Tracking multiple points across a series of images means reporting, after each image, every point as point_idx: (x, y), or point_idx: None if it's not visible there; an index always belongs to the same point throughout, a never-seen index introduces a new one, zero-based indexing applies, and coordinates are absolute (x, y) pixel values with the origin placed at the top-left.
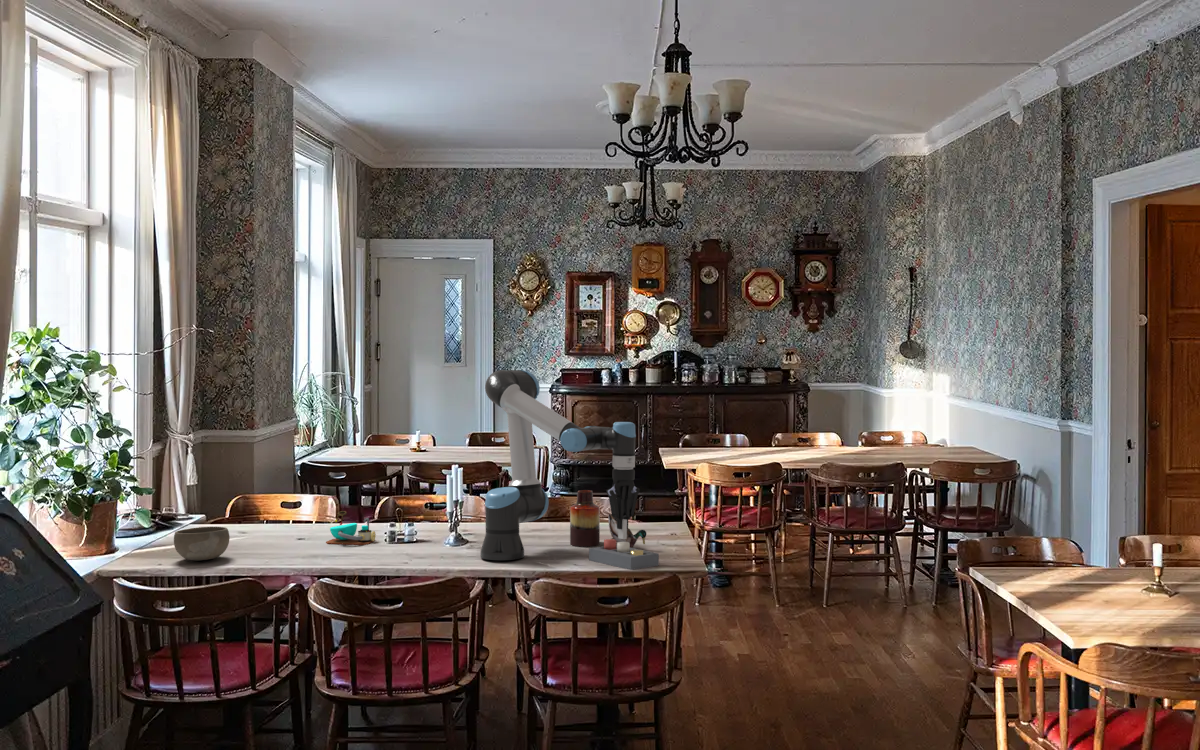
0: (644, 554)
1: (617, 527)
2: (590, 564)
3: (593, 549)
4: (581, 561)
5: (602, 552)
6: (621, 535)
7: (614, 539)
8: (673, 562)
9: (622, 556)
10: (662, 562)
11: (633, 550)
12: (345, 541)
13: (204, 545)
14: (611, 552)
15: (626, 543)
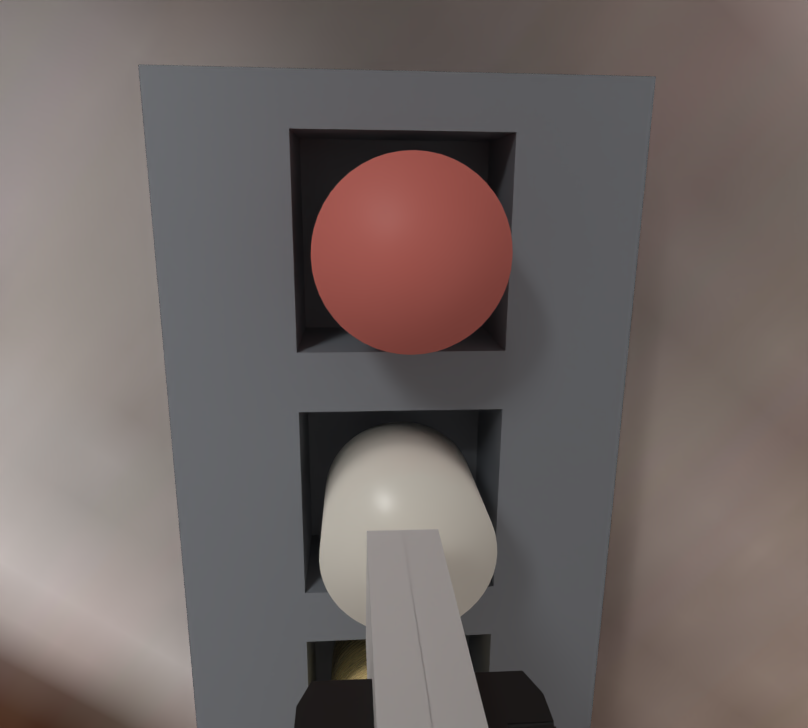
0: None
1: (297, 720)
2: (52, 314)
3: (148, 177)
4: (60, 97)
5: (170, 372)
6: (367, 641)
7: (509, 249)
8: (743, 675)
9: (197, 710)
10: (678, 628)
11: None
12: None
13: None
14: (209, 510)
15: None
